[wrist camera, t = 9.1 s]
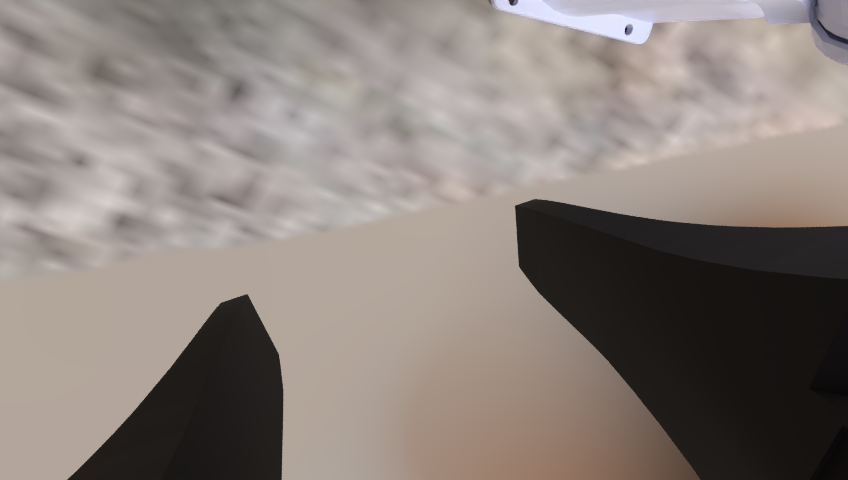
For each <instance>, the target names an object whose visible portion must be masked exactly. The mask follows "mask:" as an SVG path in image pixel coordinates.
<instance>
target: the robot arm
mask: <svg viewBox="0 0 848 480" xmlns="http://www.w3.org/2000/svg"><path fill="white" fill-rule="evenodd" d="M491 3H492V5H493V7H494V8H495V9H497V10H500V11H504V12H508V13H512V14H516V15H520V16H524V17H528V18H532V19H536V20H540V21H544V22H548V23H552V24H556V25H560V26H564V27H569V28H573V29H577V30H581V31H585V32H589V33H593V34H597V35H601V36H605V37H609V38H613V39H617V40H621V41H625V42H629V43H633V44H642V43H644V42H645V41H646V40H647V38H648V36H649V34H650V31H651V28H652V26H653V23H661V22H681V21H702V20H722V19H743V18H759V17H765V19H766V22H767V24H793V23H811V32H812V37H813V40H814V43H815V45H816V47H817V48H818V49H819V50H820V51H821V52H822V53H823V54H824V55H825V56H827V57H828V58H830V59H832V60H834V61H835V62H837V63H840V64H844V65H847V66H848V0H514V3H513V5H512V6H511V5H510V4H509V0H491ZM626 26H627V31H626V33H625V28H626ZM515 210H516V226H517V242H518V257H519V267H520V269H521V270H522V271H523V273H524V274H525V275H526V277H527V278H528V279H529V281H530V282H531V283H532V285H533V286H534V287H535V288H536V289H537V291H538V292H539V293H540V294H541V295H542V296H543V297H544V298H545V299H546V300H547V301H548V302H549V303H550V304H551V305H552V306H553V307H554V308H555V309H556V310H557V311H558V312H559V313H560V314H561V315H562V316H563V317H564V318H565V319H567V321H568V322H570V324H572V325H573V326H574V327H575V328H576V329H577V330H578V331H579V332H580V333H581V334H582V335H583V336H584V337H585V338H586V339H587V340H588V341H589V342H590V343H591V344H592V345H593V346H594V347H596V349H597V350H598V351H599V352H600V353H601V354H602V355H603V356H604V357H605V358H606V359H607V360H608V361H609V362H610V364H611V365H612V366H613V367H614V368H615V370H616V371H617V372H618V373H619V374H620V376H621V377H622V378H623V379H624V380H625V381H626V383H627V384H628V385H629V386H630V387H631V389H632V390H633V391H634V392H635V393H636V394H637V396H638V397H639V398H640V399H641V401H642V402H643V404H644V405H645V406H646V407H647V409H648V410H649V411H650V412H651V414H652V415H653V416H654V417H655V419H656V420H657V421H658V422H659V424H660V425H661V426H662V428H663V429H664V430H665V432H666V433H667V434H668V436H669V437H670V438H671V439H672V441H673V442H674V444H675V445H676V446H677V448H678V449H679V450H680V452H681V453H682V454H683V456H684V457H685V458H686V460H687V461H688V462H689V464H690V465H691V466H692V468H693V469H694V471H695V472H696V474H697V475H698V476H699V478H700V479H701V480H848V226H838V227H804V228H803V227H801V228H768V227H731V226H715V225H702V224H690V223H680V222H679V223H678V222H670V221H662V220H655V219H648V218H641V217H635V216H629V215H623V214H617V213H612V212H607V211H601V210H596V209H591V208H586V207H581V206H576V205H570V204H566V203H560V202H554V201H548V200H538V199H534V200H531V201H528V202H525V203H522V204H519V205H516V206H515ZM282 436H283V384H282V376H281V367H280V359H279V354H278V352H277V350H276V348H275V346H274V344H273V342H272V341H271V339H270V337H269V335H268V333H267V331H266V329H265V327H264V325H263V323H262V321H261V320H260V318H259V316H258V314H257V312H256V310H255V308H254V306H253V304H252V302H251V300H250V298H249V296H248V295H243V296H240V297H237V298H234V299H231V300H229V301H225V302H222V303H221V304H220V305H219V306H218V307H217V308H216V309H215V310H214V312H213V313H212V314H211V316H210V317H209V318H208V319H207V321H206V322H205V323H204V325H203V326H202V327H201V329H200V330H199V331H198V333H197V334H196V335H195V337H194V338H193V339H192V341H191V342H190V343H189V344H188V346H187V347H186V348H185V350H184V351H183V352H182V353H181V355H180V356H179V357H178V359H177V360H176V362H175V363H174V364H173V365H172V367H171V368H170V369H169V370H168V371H167V373H166V374H165V375H164V376H163V377H162V379H161V380H160V381H159V382H158V383H157V384H156V386H155V387H154V388H153V389H152V391H151V392H150V393H149V394H148V395H147V396H146V398H145V399H144V400H143V401H142V403H141V404H140V405H139V406H138V407H137V408H136V410H135V411H134V412H133V413H132V414H131V415H130V416H129V417H128V418H127V420H126V421H125V422H124V423H123V424H122V425H121V426H120V427H119V428H118V429H117V430H116V431H115V433H114V434H113V435H112V436H111V437H110V438H109V439H108V440H107V441H106V442H105V443H104V444H103V445H102V446H101V447H100V448H99V449H98V450H97V451H96V452H95V453H94V454H93V455H92V456H91V457H90V458H89V459H88V460H87V461H86V462H85V463H84V464H83V465H82V466H81V467H80V468H79V469H78V470H77V471H76V472H75V473H74V474H73V475H72V476H71V477H70V478H69V479H68V480H281V479H282V478H281V477H282Z"/></svg>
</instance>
